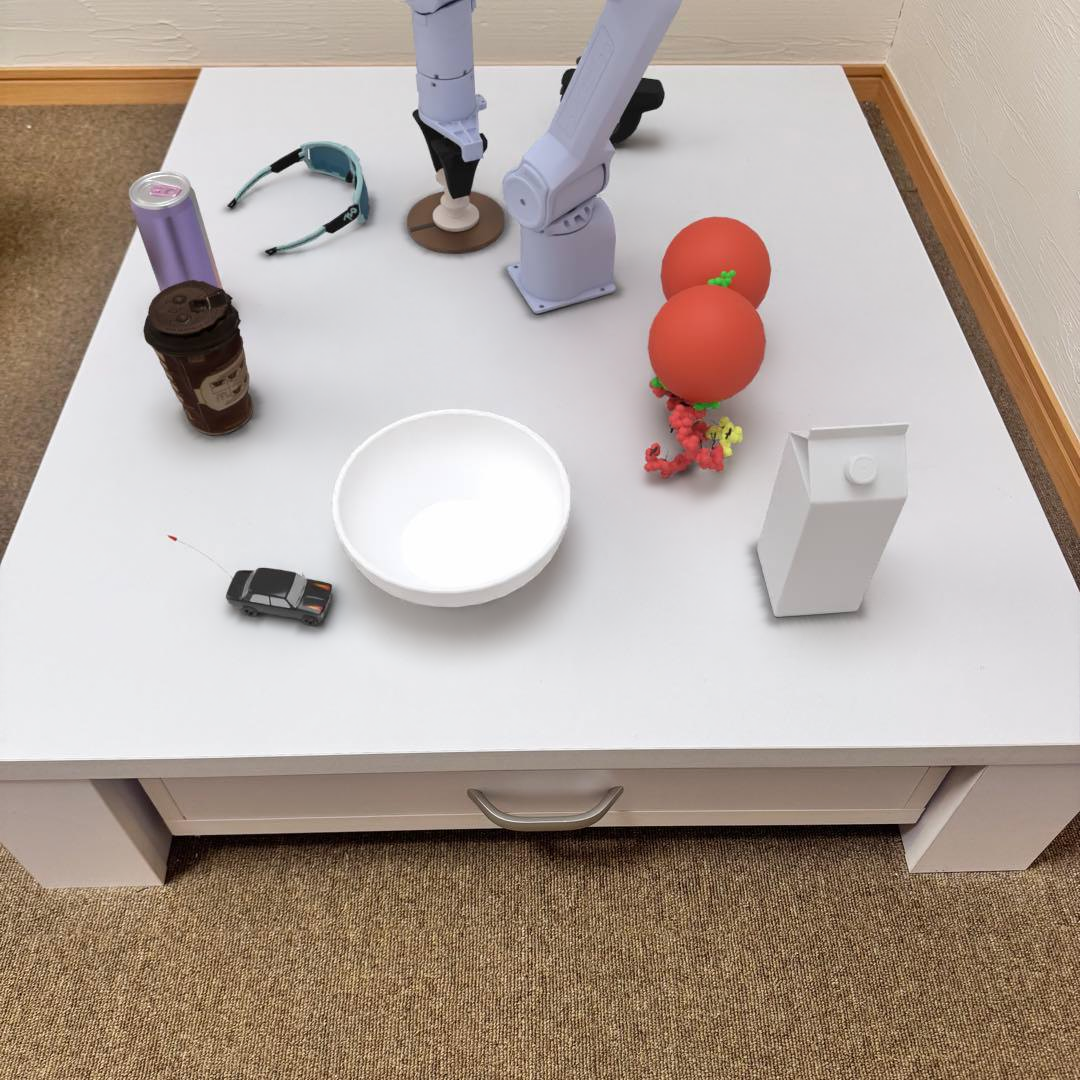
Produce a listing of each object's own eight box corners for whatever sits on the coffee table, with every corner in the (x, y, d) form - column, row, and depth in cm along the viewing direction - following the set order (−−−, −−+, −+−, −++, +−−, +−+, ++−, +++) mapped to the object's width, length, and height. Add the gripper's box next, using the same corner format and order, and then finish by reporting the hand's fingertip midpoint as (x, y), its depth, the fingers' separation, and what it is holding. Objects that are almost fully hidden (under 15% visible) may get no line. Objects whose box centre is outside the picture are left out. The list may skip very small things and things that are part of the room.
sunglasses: (394, 217, 121) (384, 181, 116) (279, 278, 117) (265, 243, 113) (336, 157, 128) (325, 121, 123) (226, 213, 124) (210, 178, 120)
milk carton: (755, 549, 92) (799, 393, 77) (836, 544, 93) (894, 387, 78) (773, 618, 88) (823, 466, 73) (857, 612, 88) (924, 460, 73)
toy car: (324, 630, 87) (308, 574, 81) (186, 608, 88) (159, 551, 82) (338, 592, 89) (323, 535, 83) (202, 571, 91) (178, 513, 84)
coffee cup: (283, 393, 104) (256, 287, 93) (242, 453, 99) (208, 348, 89) (204, 373, 105) (169, 266, 95) (160, 430, 101) (117, 325, 90)
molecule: (627, 306, 111) (680, 179, 100) (724, 336, 113) (788, 214, 101) (608, 475, 95) (669, 345, 83) (722, 507, 96) (798, 384, 85)
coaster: (483, 185, 125) (483, 180, 124) (519, 239, 118) (519, 234, 118) (394, 207, 122) (393, 202, 121) (426, 263, 116) (426, 258, 115)
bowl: (396, 678, 84) (386, 630, 79) (311, 508, 95) (297, 455, 89) (610, 586, 90) (615, 534, 84) (507, 435, 100) (506, 380, 95)
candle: (488, 214, 120) (485, 130, 112) (459, 238, 117) (454, 153, 109) (452, 198, 122) (446, 114, 114) (423, 220, 119) (415, 136, 111)
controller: (563, 126, 132) (565, 47, 124) (661, 137, 131) (669, 59, 123) (556, 145, 130) (557, 66, 122) (656, 157, 128) (664, 78, 120)
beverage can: (215, 336, 109) (176, 211, 97) (160, 328, 109) (115, 203, 97) (237, 299, 112) (202, 173, 100) (184, 291, 113) (143, 166, 101)
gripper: (510, 92, 102) (512, 212, 113) (457, 23, 110) (464, 141, 121) (441, 108, 101) (450, 228, 111) (392, 36, 109) (405, 155, 119)
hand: (453, 184), depth 116 cm, fingers closed on candle, 4 cm apart
